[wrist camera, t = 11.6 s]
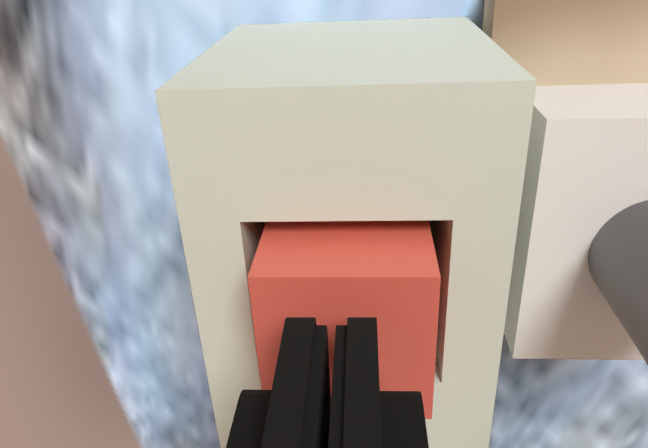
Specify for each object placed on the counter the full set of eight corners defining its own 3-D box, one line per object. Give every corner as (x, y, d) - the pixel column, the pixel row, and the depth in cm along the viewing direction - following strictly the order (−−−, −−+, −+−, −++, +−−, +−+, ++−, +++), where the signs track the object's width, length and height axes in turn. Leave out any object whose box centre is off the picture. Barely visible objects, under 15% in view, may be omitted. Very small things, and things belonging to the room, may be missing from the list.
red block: (416, 305, 16) (431, 419, 12) (287, 304, 16) (264, 416, 12) (421, 186, 14) (440, 277, 10) (277, 188, 14) (247, 277, 11)
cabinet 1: (447, 290, 22) (486, 465, 15) (267, 290, 22) (222, 458, 15) (466, 16, 17) (536, 79, 10) (238, 24, 18) (154, 90, 11)
